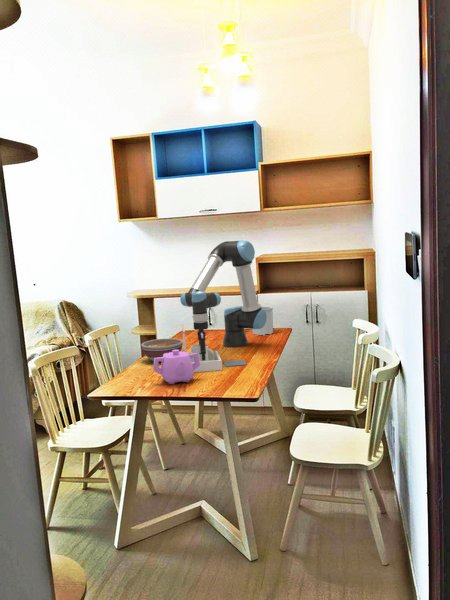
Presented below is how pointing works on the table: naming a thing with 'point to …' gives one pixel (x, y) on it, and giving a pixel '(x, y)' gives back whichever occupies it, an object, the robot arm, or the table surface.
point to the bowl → (160, 347)
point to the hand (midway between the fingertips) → (203, 363)
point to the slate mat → (234, 363)
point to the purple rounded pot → (176, 366)
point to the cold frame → (206, 365)
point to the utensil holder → (269, 322)
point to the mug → (197, 350)
